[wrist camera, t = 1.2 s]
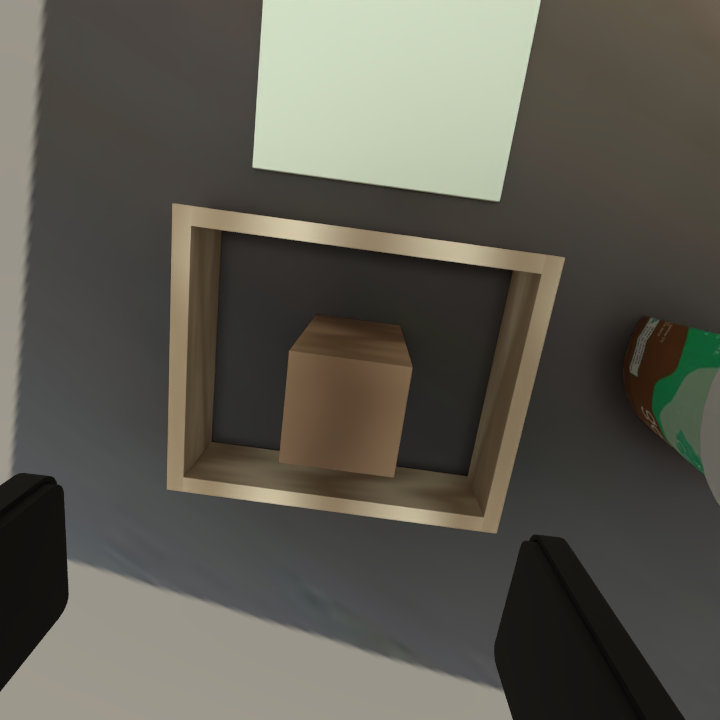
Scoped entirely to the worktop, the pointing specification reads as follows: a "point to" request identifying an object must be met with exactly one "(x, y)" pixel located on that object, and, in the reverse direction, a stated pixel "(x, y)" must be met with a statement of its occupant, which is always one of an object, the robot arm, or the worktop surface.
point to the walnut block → (346, 396)
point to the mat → (393, 91)
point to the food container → (678, 390)
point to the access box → (327, 486)
